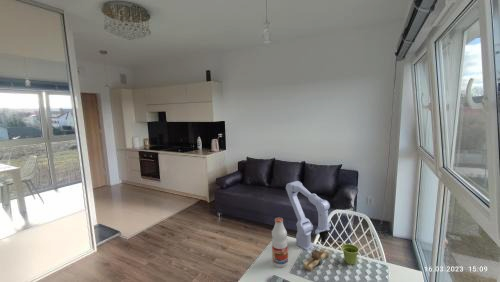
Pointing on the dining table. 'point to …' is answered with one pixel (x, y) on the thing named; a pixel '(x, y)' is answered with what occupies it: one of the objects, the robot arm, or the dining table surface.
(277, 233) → the fruit juice
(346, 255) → the plant pot
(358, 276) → the dining table surface
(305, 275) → the dining table surface
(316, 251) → the rider
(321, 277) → the dining table surface
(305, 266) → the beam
